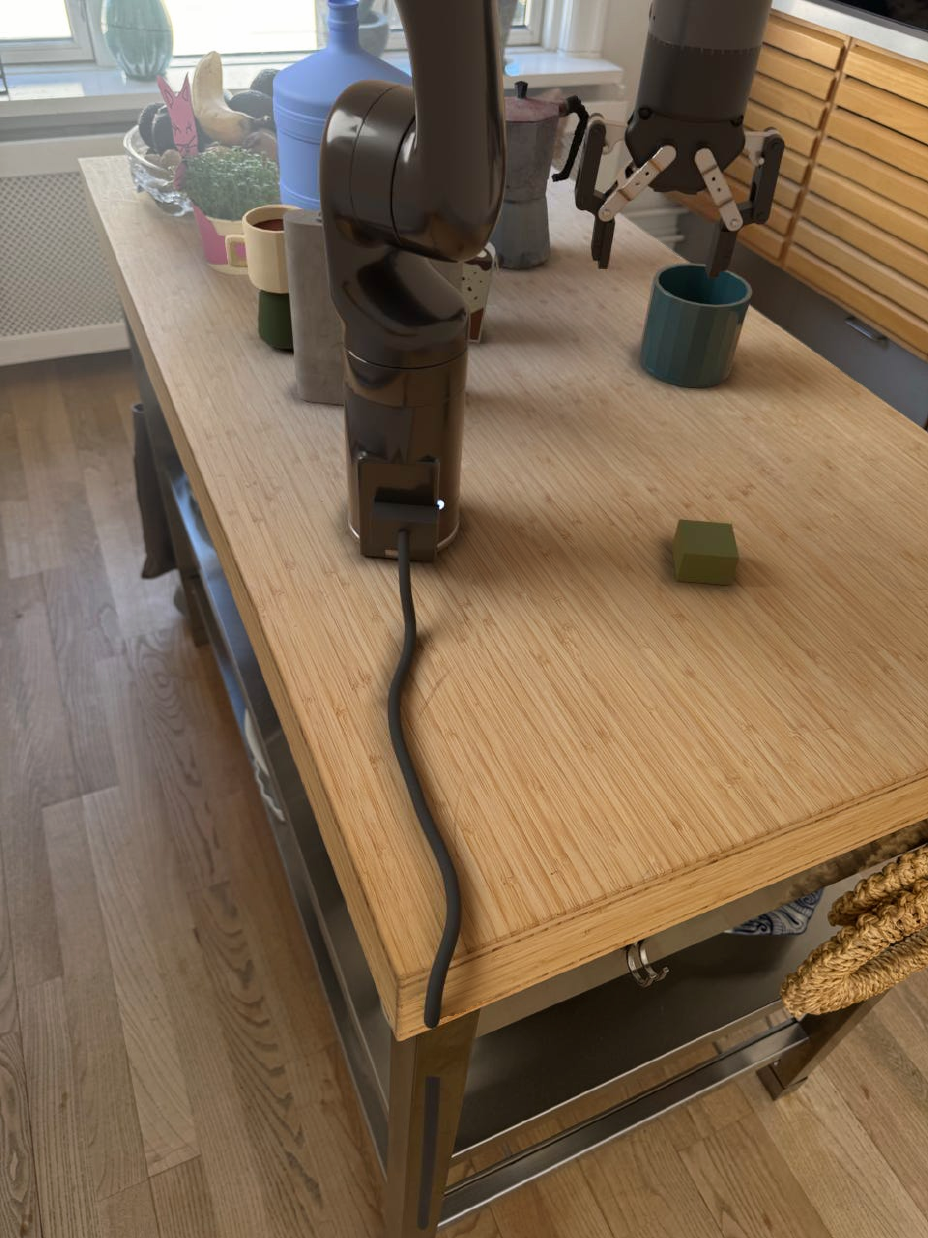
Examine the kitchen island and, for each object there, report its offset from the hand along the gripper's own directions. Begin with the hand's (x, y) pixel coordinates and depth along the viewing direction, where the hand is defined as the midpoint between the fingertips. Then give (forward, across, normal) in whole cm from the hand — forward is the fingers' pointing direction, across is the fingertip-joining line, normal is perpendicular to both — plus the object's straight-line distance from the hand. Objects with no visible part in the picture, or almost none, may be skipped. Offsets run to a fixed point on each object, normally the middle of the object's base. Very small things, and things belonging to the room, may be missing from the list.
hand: (656, 269), depth 72 cm
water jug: (+20, -30, +38) cm, 52 cm away
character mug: (+20, -34, +20) cm, 44 cm away
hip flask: (+20, -23, +10) cm, 32 cm away
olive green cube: (+19, +6, -12) cm, 24 cm away
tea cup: (+19, +9, +22) cm, 31 cm away
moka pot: (+20, -10, +47) cm, 52 cm away
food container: (+20, -18, +26) cm, 37 cm away
